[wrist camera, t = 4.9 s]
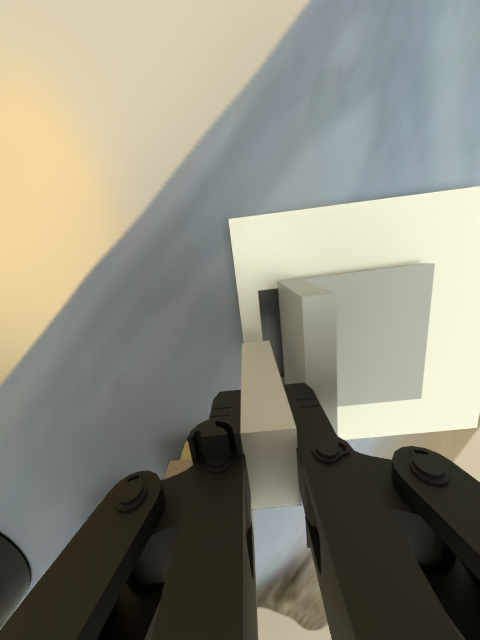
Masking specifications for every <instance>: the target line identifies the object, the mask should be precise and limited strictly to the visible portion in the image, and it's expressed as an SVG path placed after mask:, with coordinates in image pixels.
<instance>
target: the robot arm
mask: <svg viewBox="0 0 480 640" xmlns="http://www.w3.org/2000/svg"><path fill="white" fill-rule="evenodd" d="M187 439H188V444H189V449H190V453H191V458H192V462H193V465H192V466H191V467H189V468H188V469H187V470H185V471H183V472H181V473H179V474H177V475H174V476H172V477H169V478H166V479H164V480H160V479H159V477H158V475H157V474H156V473H153V472H151V471H139V472H136V473H134V474H131V475H129V476H127V477H126V478H124V479H123V480H121V481H120V482H118V483H117V484H116V485H115V486H114V487H113V488H112V489H111V491H110V492H109V493H108V494H107V495H106V497H105V498H104V499H103V500H102V502H101V503H100V504H99V505H98V507H97V508H96V509H95V511H94V512H93V513H92V514H91V516H90V517H89V518H88V519H87V521H86V522H85V523H84V524H83V526H82V527H81V528H80V530H79V531H78V532H77V533H76V535H75V536H74V537H73V538H72V540H71V541H70V542H69V543H68V545H67V546H66V547H65V549H64V550H63V551H62V552H61V554H60V555H59V556H58V557H57V559H56V560H55V561H54V562H53V564H52V565H51V566H50V568H49V569H48V570H47V571H46V573H45V574H44V575H43V576H42V578H41V579H40V580H39V581H38V583H37V584H36V585H35V587H34V588H33V589H32V590H31V592H30V593H29V594H28V595H27V597H26V598H25V599H24V600H23V602H22V603H21V604H20V606H19V607H18V608H17V609H16V607H17V605H18V604H19V602H20V601H21V599H22V598H23V596H24V595H25V593H26V591H27V590H28V587H29V584H30V572H29V568H28V566H27V564H26V561H25V560H24V558H23V557H22V555H21V554H20V553H19V551H18V550H17V549H16V548H15V547H14V546H13V545H12V544H11V543H9V542H8V541H7V540H6V539H4V538H3V537H1V536H0V628H1V627H2V626H3V625H4V624H5V625H4V626H3V627H2V628H1V630H0V640H258V632H257V607H256V583H255V558H254V533H253V525H252V519H251V509H261V508H273V507H286V506H299V505H302V503H303V507H304V511H305V519H306V534H307V548H311V551H312V556H313V560H314V564H315V569H316V573H317V577H318V582H319V586H320V590H321V595H322V599H323V603H324V608H325V612H326V616H327V621H328V625H329V629H330V634H331V638H332V640H480V482H479V481H477V480H476V479H475V478H473V477H472V476H471V475H469V474H468V473H466V472H465V471H463V470H462V469H461V468H460V467H458V466H457V465H456V464H454V463H453V462H452V461H450V460H449V459H447V458H445V457H444V456H442V455H440V454H439V453H436V452H434V451H431V450H428V449H426V448H421V447H414V446H409V447H401V448H400V449H398V450H397V451H395V452H394V455H393V458H392V460H389V459H384V458H378V457H373V456H368V455H364V454H361V453H359V452H356V451H354V450H353V449H352V447H351V446H350V445H349V444H348V443H347V442H346V441H345V440H343V439H341V438H340V437H338V436H337V434H336V433H335V431H334V429H333V427H332V425H331V423H330V421H329V419H328V417H327V415H326V414H325V412H324V410H323V408H322V406H321V404H320V402H319V400H318V399H317V396H316V395H315V393H314V391H313V389H312V388H311V387H309V386H308V385H307V384H305V383H294V384H284V385H283V384H282V380H281V377H280V374H279V371H278V367H277V364H276V361H275V358H274V355H273V351H272V348H271V345H270V342H269V340H268V341H259V342H250V343H242V356H241V390H234V391H224V392H219V393H218V395H217V396H216V397H215V398H214V400H213V404H212V410H211V413H210V418H209V420H206V421H204V422H202V423H200V424H198V425H197V426H196V427H195V428H194V429H193V430H192V431H191V432H190V434H189V436H188V438H187ZM301 498H302V503H301ZM15 609H16V611H15V612H14V610H15ZM13 612H14V613H13ZM12 613H13V614H12ZM11 615H12V616H11ZM10 616H11V617H10ZM7 620H8V621H7Z"/></svg>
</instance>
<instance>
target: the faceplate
mask: <svg viewBox="0 0 480 640" xmlns="http://www.w3.org/2000/svg"><path fill="white" fill-rule="evenodd" d="M229 227H230V235H231V243H232V252H233V260H234V268H235V276H236V284H237V292H238V300H239V308H240V317H241V325H242V333H243V341H244V343H250V342H259V341H268V340H269V342H270V345H271V348H272V351H273V355H274V358H275V361H276V364H277V367H278V371H279V374H280V377H281V380H282V384H283V385H284V384H285V375H284V361H283V348H282V335H281V322H280V309H279V296H278V283H277V281H279V280H287V279H295V278H304V277H312V276H321V275H329V274H337V273H346V272H354V271H363V270H371V269H379V268H388V267H396V266H404V265H413V264H421V263H432V264H435V268H434V278H433V288H432V298H431V307H430V317H429V327H428V337H427V347H426V357H425V367H424V377H423V387H422V397H421V399H412V400H402V401H392V402H381V403H371V404H361V405H350V406H340V407H337V424H338V437H340V438H341V439H343V440H347V439H358V438H369V437H380V436H391V435H402V434H413V433H424V432H435V431H446V430H457V429H468V428H477V424H478V418H479V413H480V186H478V187H470V188H463V189H455V190H448V191H440V192H432V193H425V194H417V195H409V196H402V197H394V198H386V199H379V200H371V201H363V202H356V203H348V204H340V205H333V206H325V207H317V208H310V209H302V210H294V211H287V212H279V213H271V214H264V215H256V216H248V217H241V218H233V219H229Z"/></svg>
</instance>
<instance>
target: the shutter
mask: <svg viewBox="0 0 480 640" xmlns="http://www.w3.org/2000/svg"><path fill="white" fill-rule="evenodd" d="M434 268H435V264H432V263H421V264H413V265H404V266H396V267H388V268H379V269H371V270H363V271H354V272H346V273H337V274H329V275H321V276H312V277H304V278H295V279H287V280H279V281H277V283H278V296H279V309H280V322H281V335H282V348H283V361H284V375H285V384H294V383H305V384H307V385H308V386H309V387H311V388H312V389H313V391H314V393H315V395H316V396H317V399H318V400H319V402H320V404H321V406H322V408H323V410H324V412H325V414H326V415H327V417H328V419H329V421H330V423H331V425H332V427H333V429H334V431H335V433H336V434H337V436H338V424H337V407H340V406H350V405H361V404H371V403H381V402H392V401H402V400H412V399H421V397H422V387H423V377H424V367H425V357H426V347H427V337H428V327H429V317H430V307H431V298H432V288H433V278H434Z"/></svg>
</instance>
